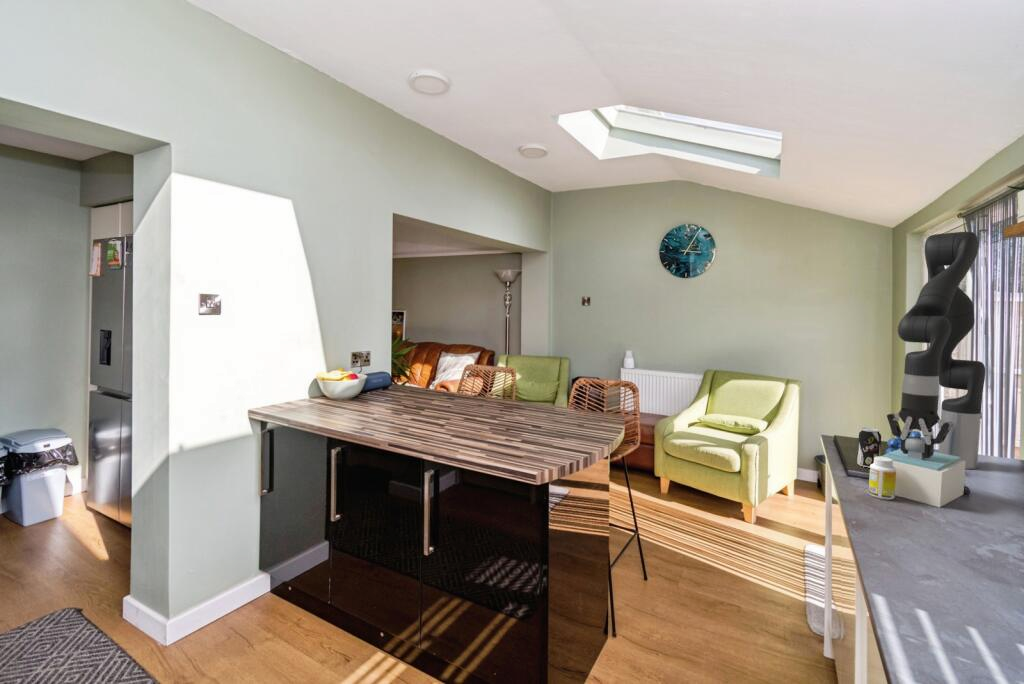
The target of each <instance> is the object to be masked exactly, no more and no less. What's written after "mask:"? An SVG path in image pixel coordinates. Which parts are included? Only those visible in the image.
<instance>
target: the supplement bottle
mask: <svg viewBox="0 0 1024 684" xmlns="http://www.w3.org/2000/svg"><path fill="white" fill-rule="evenodd" d="M880 456H881V455H880ZM880 456H877V457H874V463H873V464H871V465H870V469H869V479H868V494H869V496H872V497H873V498H877V499H880V500H888V501H889V500H894V499H895V498H896V495H895V485H896V468H895V467H893V460H892V459H890V458H887V457H880Z"/></svg>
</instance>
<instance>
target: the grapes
mask: <svg viewBox="0 0 1024 684" xmlns="http://www.w3.org/2000/svg"><path fill="white" fill-rule="evenodd" d="M910 437H913V438H919V439H924V440H925V438H924V436H922V433H921V432H920V431H919V430H913V431H912V432H911V434H910ZM887 445H888V447H889V448H887V449H886V450H885V455H886V454H888V453H889V452H892V451H895V450H898V449H901V439H900V438H899V437H897V436H895V437H892V438H889V439H888V440H887Z"/></svg>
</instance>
